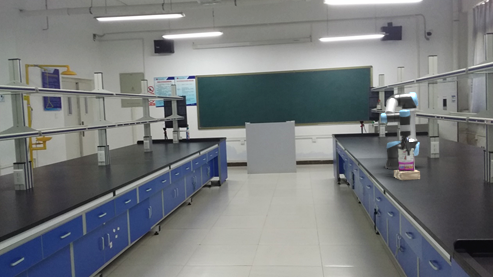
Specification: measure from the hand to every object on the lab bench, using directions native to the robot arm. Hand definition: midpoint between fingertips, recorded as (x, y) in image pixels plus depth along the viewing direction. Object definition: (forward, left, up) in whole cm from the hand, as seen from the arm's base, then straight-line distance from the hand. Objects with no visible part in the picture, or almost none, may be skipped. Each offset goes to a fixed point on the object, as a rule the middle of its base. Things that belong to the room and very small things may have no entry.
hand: (406, 158), depth 314 cm
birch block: (0, 0, -15) cm, 15 cm away
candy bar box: (0, 0, -9) cm, 9 cm away
